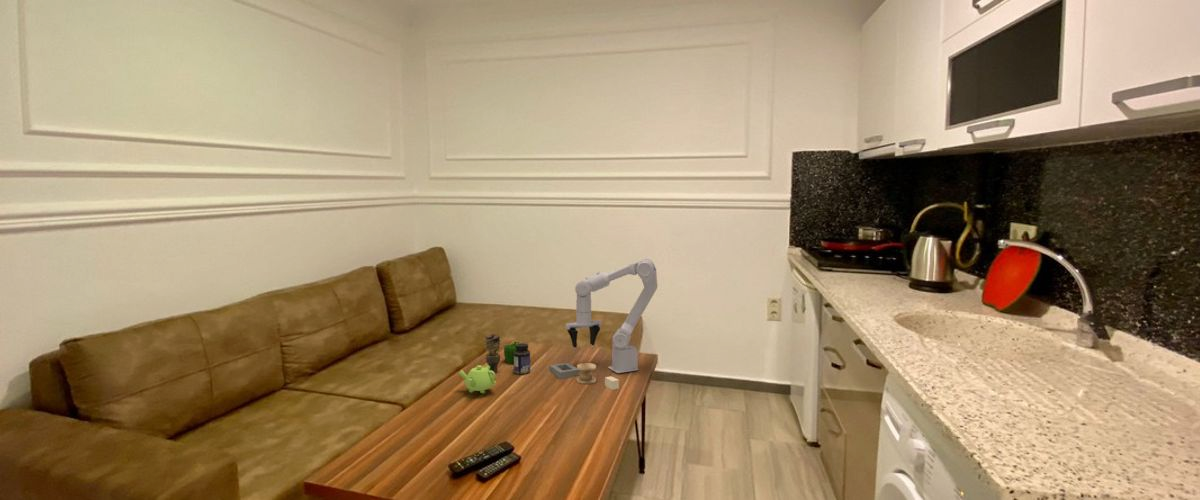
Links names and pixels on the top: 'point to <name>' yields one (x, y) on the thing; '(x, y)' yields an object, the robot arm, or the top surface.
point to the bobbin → (586, 373)
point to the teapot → (479, 379)
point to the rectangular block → (612, 383)
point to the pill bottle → (522, 359)
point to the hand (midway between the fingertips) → (583, 345)
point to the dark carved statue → (492, 351)
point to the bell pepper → (510, 352)
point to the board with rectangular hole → (567, 373)
